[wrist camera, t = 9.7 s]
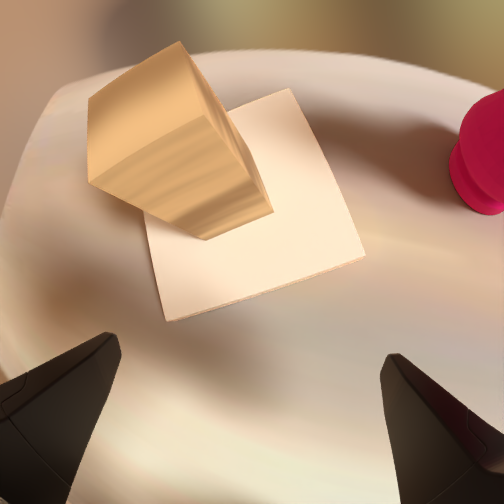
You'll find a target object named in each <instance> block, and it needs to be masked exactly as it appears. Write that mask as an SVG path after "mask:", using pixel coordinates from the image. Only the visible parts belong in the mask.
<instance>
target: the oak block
mask: <svg viewBox="0 0 504 504" xmlns="http://www.w3.org/2000/svg"><path fill="white" fill-rule="evenodd" d="M87 162H88V183H89V184H91V185H93V186H95V187H97V188H99V189H101V190H103V191H105V192H107V193H109V194H111V195H113V196H115V197H117V198H119V199H121V200H123V201H125V202H127V203H129V204H131V205H133V206H135V207H137V208H139V209H142V210H144V211H146V212H148V213H150V214H152V215H154V216H156V217H158V218H160V219H162V220H164V221H166V222H168V223H170V224H172V225H174V226H176V227H178V228H180V229H182V230H184V231H186V232H188V233H191V234H193V235H195V236H197V237H199V238H201V239H203V240H205V241H207V240H209V239H211V238H214V237H216V236H219V235H221V234H223V233H226V232H228V231H230V230H233V229H235V228H238V227H240V226H242V225H245V224H247V223H250V222H252V221H255V220H257V219H259V218H262V217H264V216H267V215H269V214H272V213H274V210H273V208H272V205H271V202H270V200H269V197H268V194H267V192H266V189H265V187H264V184H263V182H262V179H261V176H260V174H259V171H258V169H257V166H256V164H255V161H254V159H253V156H252V154H251V151H250V150H249V148H248V146H247V145H246V143H245V141H244V140H243V138H242V136H241V135H240V133H239V131H238V130H237V128H236V127H235V125H234V123H233V122H232V120H231V118H230V117H229V115H228V114H227V112H226V110H225V109H224V107H223V106H222V104H221V103H220V101H219V99H218V98H217V96H216V95H215V93H214V92H213V90H212V89H211V87H210V85H209V84H208V82H207V81H206V79H205V78H204V76H203V75H202V73H201V72H200V70H199V69H198V67H197V66H196V64H195V63H194V61H193V60H192V58H191V57H190V55H189V54H188V52H187V51H186V49H185V48H184V46H183V45H182V44H181V42H180V41H178V42H176V43H174V44H173V45H171V46H169V47H167V48H165V49H163V50H162V51H160V52H158V53H156V54H155V55H153V56H151V57H149V58H148V59H146V60H144V61H143V62H141V63H140V64H138V65H136V66H135V67H133V68H132V69H130V70H128V71H127V72H125V73H124V74H122V75H121V76H119V77H118V78H116V79H115V80H114V81H112V82H111V83H109V84H108V85H106V86H105V87H104V88H102V89H101V90H100V91H98V92H97V93H96V94H94V95H93V96H92V97H90V98H89V101H88V125H87Z"/></svg>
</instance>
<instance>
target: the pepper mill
mask: <svg viewBox="0 0 504 504" xmlns="http://www.w3.org/2000/svg"><path fill="white" fill-rule="evenodd" d="M449 171H450V176H451V180H452V182H453V184H454V187H455V189H456V191H457V192H458V194H459V195H460V197H461V198H462V199H463V201H464V202H466V203H467V204H468V205H469V206H470V207H471V208H473V209H474V210H476V211H478V212H479V213H482V214H486V215H496V214H499V213H501V212H503V211H504V89H502V90H500V91H498V92H495V93H493V94H490V95H488V96H485V97H484V98H482V99H480V100H479V101H478V102H476V103H475V104H474V105H473V106H472V107H471V108H470V110H469V111H468V112H467V114H466V115H465V117H464V119H463V121H462V124H461V127H460V134H459V141H458V142H457V144H456V145H455V147H454V148H453V150H452V152H451V155H450V158H449Z"/></svg>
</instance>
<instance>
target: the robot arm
mask: <svg viewBox="0 0 504 504" xmlns="http://www.w3.org/2000/svg"><path fill="white" fill-rule="evenodd" d="M120 360H121V349H120V345H119V342H118V338H117V336H116V334H114V333H109V332H104V333H102V334H100V335H98V336H96V337H94V338H92V339H90V340H88V341H86V342H84V343H82V344H80V345H79V346H77V347H75V348H73V349H71V350H69V351H67V352H65V353H63V354H61V355H59V356H57V357H55V358H53V359H51V360H49V361H48V362H46V363H44V364H42V365H40V366H38V367H36V368H34V369H32V370H30V371H28V372H26V373H24V374H22V375H20V376H18V377H16V378H14V379H12V380H10V381H8V382H6V383H3V384H1V385H0V504H66V501H67V498H68V495H69V492H70V489H71V486H72V483H73V481H74V478H75V475H76V473H77V470H78V467H79V465H80V462H81V460H82V457H83V454H84V452H85V449H86V447H87V444H88V442H89V440H90V437H91V435H92V432H93V430H94V428H95V425H96V423H97V421H98V418H99V416H100V414H101V411H102V409H103V407H104V404H105V402H106V400H107V398H108V395H109V393H110V390H111V387H112V384H113V381H114V378H115V375H116V372H117V369H118V366H119V363H120ZM380 382H381V390H382V398H383V407H384V415H385V420H386V425H387V429H388V434H389V439H390V444H391V449H392V454H393V459H394V464H395V470H396V476H397V482H398V488H399V494H400V501H401V504H504V434H503V433H501V432H500V431H498V430H497V429H495V428H494V427H492V426H491V425H489V424H488V423H486V422H485V421H484V420H483V419H481V418H480V417H479V416H477V415H476V414H475V413H474V412H472V411H471V410H470V409H468V408H467V407H466V406H465V405H464V404H462V403H461V402H460V401H459V400H457V399H456V398H455V397H454V396H453V395H451V394H450V393H449V392H448V391H446V390H445V389H444V388H443V387H441V386H440V385H439V384H438V383H436V382H435V381H434V380H433V379H431V378H430V377H429V376H428V375H426V374H425V373H424V372H423V371H421V370H420V369H419V368H418V367H416V366H415V365H414V364H412V363H411V362H410V361H409V360H407V359H406V358H405V357H404V356H402V355H401V354H399V353H394V354H388V355H387V357H386V359H385V362H384V364H383V367H382V370H381V372H380Z"/></svg>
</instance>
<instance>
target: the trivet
mask: <svg viewBox="0 0 504 504" xmlns="http://www.w3.org/2000/svg"><path fill="white" fill-rule="evenodd" d="M227 114H228V115H229V117H230V118H231V120H232V122H233V123H234V125H235V127H236V128H237V130H238V131H239V133H240V135H241V136H242V138H243V140H244V141H245V143H246V145H247V146H248V148H249V150H250V151H251V154H252V156H253V159H254V161H255V164H256V166H257V169H258V171H259V174H260V176H261V179H262V182H263V184H264V187H265V189H266V192H267V194H268V197H269V200H270V202H271V205H272V208H273V210H274V213H272V214H269V215H267V216H264V217H262V218H259V219H257V220H255V221H252V222H250V223H247V224H245V225H242V226H240V227H238V228H235V229H233V230H230V231H228V232H226V233H223V234H221V235H219V236H216V237H214V238H211V239H209V240H207V241H205V240H203V239H201V238H199V237H197V236H195V235H193V234H191V233H188V232H186V231H184V230H182V229H180V228H178V227H176V226H174V225H172V224H170V223H168V222H166V221H164V220H162V219H160V218H158V217H156V216H154V215H152V214H150V213H148V212H146V211H144V210H143V213H144V219H145V225H146V231H147V236H148V242H149V247H150V252H151V257H152V262H153V267H154V272H155V277H156V281H157V286H158V290H159V295H160V299H161V303H162V307H163V311H164V315H165V319H166V321H177V320H181V319H184V318H188V317H191V316H194V315H198V314H201V313H204V312H208V311H211V310H214V309H217V308H221V307H224V306H227V305H230V304H233V303H236V302H240V301H243V300H246V299H249V298H252V297H255V296H258V295H261V294H264V293H267V292H270V291H273V290H276V289H279V288H282V287H285V286H288V285H291V284H294V283H297V282H300V281H303V280H306V279H309V278H312V277H314V276H317V275H320V274H323V273H326V272H329V271H331V270H334V269H337V268H340V267H343V266H345V265H348V264H351V263H353V262H356V261H359V260H362V259H364V257H365V256H366V255H365V252H364V249H363V246H362V244H361V241H360V239H359V236H358V233H357V231H356V228H355V226H354V223H353V221H352V218H351V216H350V213H349V211H348V208H347V206H346V204H345V201H344V199H343V196H342V194H341V192H340V189H339V187H338V185H337V183H336V180H335V178H334V176H333V174H332V171H331V169H330V167H329V165H328V163H327V161H326V158H325V156H324V154H323V152H322V150H321V148H320V146H319V144H318V142H317V140H316V138H315V136H314V134H313V132H312V130H311V128H310V126H309V124H308V122H307V120H306V118H305V116H304V114H303V112H302V110H301V109H300V107H299V105H298V103H297V101H296V99H295V97H294V96H293V94H292V92H291V90H290V88H287V89H284V90H281V91H278V92H276V93H273V94H270V95H268V96H265V97H262V98H260V99H257V100H255V101H252V102H250V103H247V104H245V105H242V106H240V107H237V108H235V109H233V110H230V111H228V112H227Z"/></svg>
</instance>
